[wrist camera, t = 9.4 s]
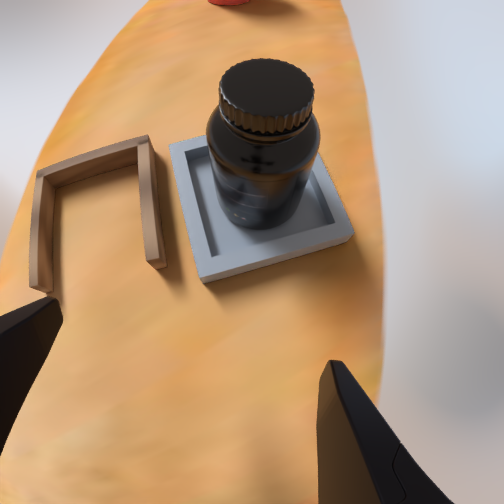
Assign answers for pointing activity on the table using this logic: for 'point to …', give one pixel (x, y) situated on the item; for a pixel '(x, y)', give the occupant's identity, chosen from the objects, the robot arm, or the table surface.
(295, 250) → the tray
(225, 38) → the table surface
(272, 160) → the supplement bottle
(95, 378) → the table surface
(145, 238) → the cradle
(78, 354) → the table surface
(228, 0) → the flower pot
